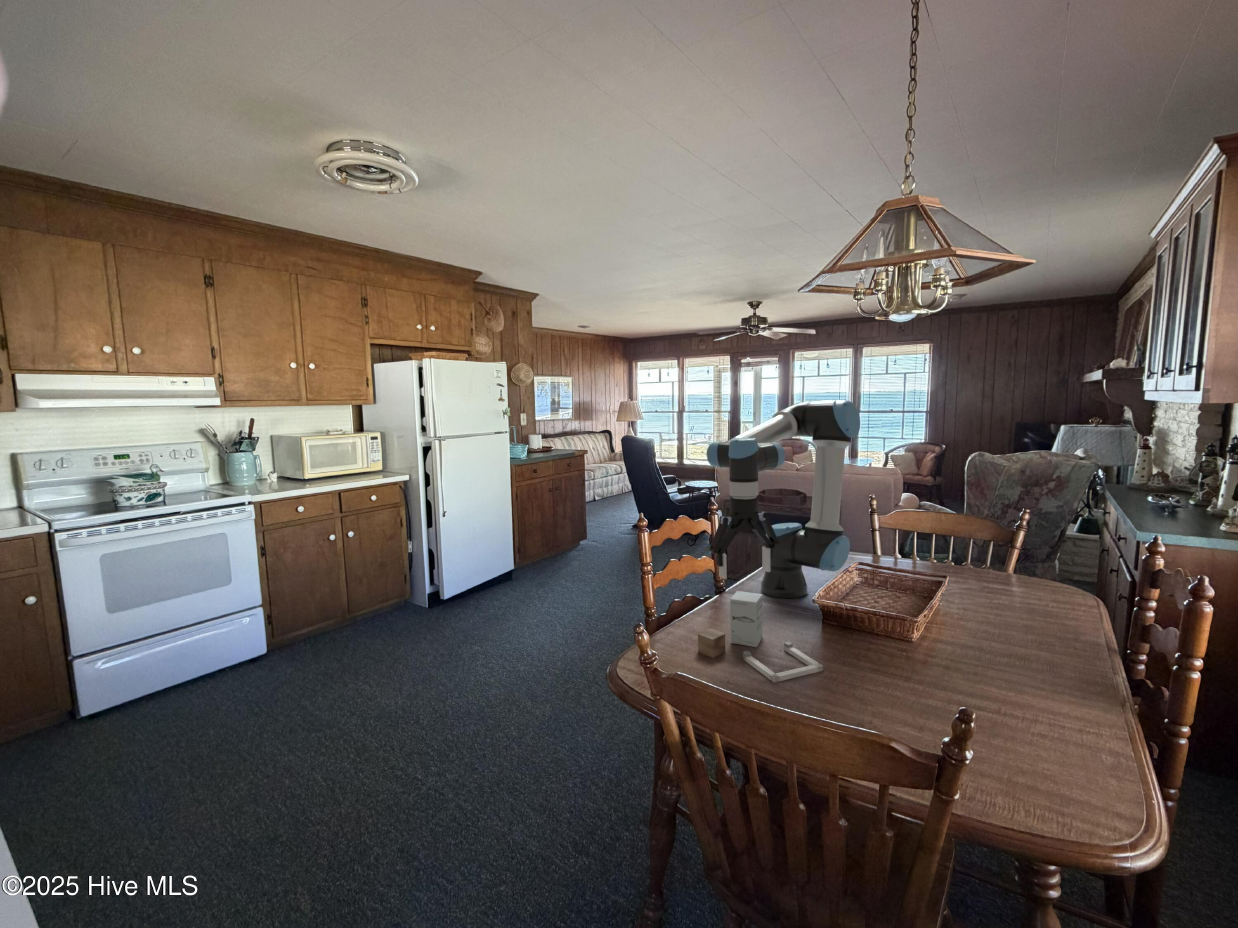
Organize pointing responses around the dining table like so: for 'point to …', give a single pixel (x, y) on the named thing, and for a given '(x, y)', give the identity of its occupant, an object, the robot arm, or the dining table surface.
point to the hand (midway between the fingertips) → (744, 574)
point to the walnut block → (711, 642)
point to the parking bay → (785, 675)
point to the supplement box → (746, 618)
